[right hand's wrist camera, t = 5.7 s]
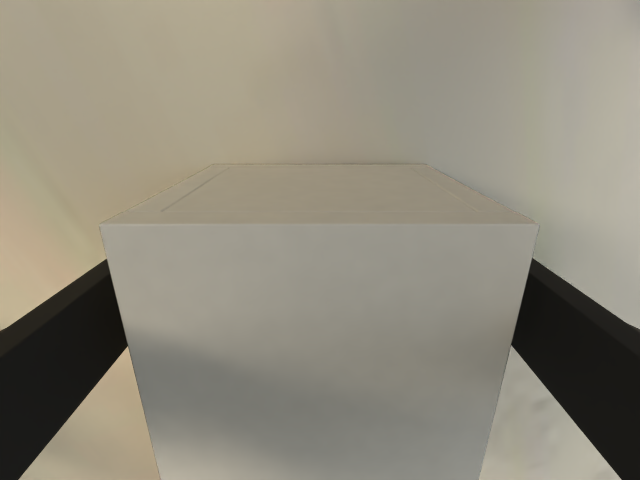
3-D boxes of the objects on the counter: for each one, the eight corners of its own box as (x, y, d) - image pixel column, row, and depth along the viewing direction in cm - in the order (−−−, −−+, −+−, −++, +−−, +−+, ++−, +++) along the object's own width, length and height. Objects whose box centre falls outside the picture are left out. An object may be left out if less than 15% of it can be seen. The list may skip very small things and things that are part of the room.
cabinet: (392, 476, 24) (431, 676, 16) (247, 476, 24) (207, 676, 16) (426, 163, 17) (540, 224, 8) (212, 163, 17) (97, 224, 8)
